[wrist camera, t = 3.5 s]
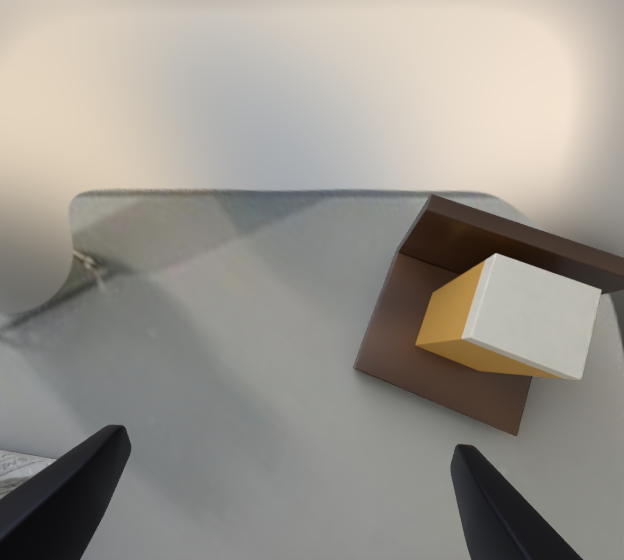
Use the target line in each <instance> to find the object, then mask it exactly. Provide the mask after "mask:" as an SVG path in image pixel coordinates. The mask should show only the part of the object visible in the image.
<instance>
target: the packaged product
mask: <svg viewBox="0 0 624 560" xmlns="http://www.w3.org/2000/svg"><path fill="white" fill-rule="evenodd" d="M55 461H56V459H50V458H44V457H38V456H32V455H27V454H21V453H16V452H10V451H5V450H0V499H1V498H2V497H4V496H5V495H7V494H8V493H9V492H11V491H12V490H14V489H15V488H17V487H18V486H20V485H21V484H23V483H24V482H25V481H27V480H28V479H30V478H31V477H33V476H34V475H36V474H37V473H39V472H40V471H41V470H43V469H44V468H46V467H47V466H49V465H50V464H52V463H53V462H55Z"/></svg>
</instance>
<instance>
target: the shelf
mask: <svg viewBox="0 0 624 560" xmlns="http://www.w3.org/2000/svg"><path fill="white" fill-rule="evenodd" d="M495 253H497V254H500V255H503V256H506V257H509V258H511V259H514V260H517V261H520V262H523V263H526V264H529V265H532V266H534V267H537V268H540V269H543V270H546V271H549V272H552V273H555V274H557V275H560V276H563V277H566V278H569V279H572V280H575V281H578V282H581V283H583V284H586V285H589V286H592V287H595V288H598V289H601V290H602V291H601V295H602V294H607V293H611V292H615V291H619V290H624V258H623V257H620V256H617V255H614V254H611V253H608V252H605V251H602V250H598V249H596V248H593V247H590V246H586V245H584V244H580V243H578V242H574V241H571V240H569V239H565V238H563V237H560V236H556V235H553V234H550V233H547V232H544V231H541V230H538V229H535V228H532V227H529V226H526V225H523V224H520V223H517V222H514V221H511V220H508V219H505V218H502V217H499V216H496V215H493V214H490V213H487V212H484V211H481V210H478V209H475V208H472V207H469V206H466V205H463V204H460V203H457V202H454V201H451V200H448V199H445V198H442V197H439V196H436V195H433V194H431V195H430V197H429V198H428V200H427V202H426V203H425V205H424V206H423V208H422V210H421V211H420V213H419V214H418V216H417V218H416V219H415V221H414V222H413V224H412V226H411V227H410V229H409V230H408V232H407V234H406V235H405V237H404V238H403V240H402V242H401V243H400V245H399V246H398V248H397V250H396V253H395V255H394V258H393V261H392V263H391V266H390V269H389V271H388V274H387V277H386V280H385V282H384V285H383V288H382V290H381V293H380V296H379V298H378V301H377V304H376V307H375V309H374V312H373V315H372V317H371V320H370V323H369V325H368V328H367V331H366V333H365V336H364V339H363V342H362V344H361V347H360V350H359V352H358V355H357V358H356V360H355V363H354V366H353V368H355V369H357V370H360V371H362V372H364V373H367V374H369V375H372V376H374V377H376V378H379V379H381V380H383V381H386V382H388V383H391V384H393V385H395V386H398V387H400V388H402V389H405V390H407V391H410V392H412V393H414V394H417V395H419V396H421V397H424V398H426V399H429V400H431V401H433V402H436V403H438V404H440V405H443V406H445V407H448V408H450V409H452V410H455V411H457V412H460V413H462V414H464V415H467V416H469V417H471V418H474V419H476V420H479V421H481V422H483V423H486V424H488V425H490V426H493V427H495V428H498V429H500V430H502V431H505V432H507V433H509V434H512V435H514V436H517V433H518V430H519V426H520V422H521V418H522V414H523V410H524V406H525V402H526V398H527V394H528V390H529V387H530V383H531V379H532V376H527V375H516V374H506V373H495V372H484V371H478V370H475V369H473V368H470V367H468V366H465V365H463V364H460V363H458V362H455V361H453V360H450V359H448V358H445V357H443V356H440V355H438V354H435V353H433V352H430V351H428V350H425V349H423V348H420V347H418V346H416V345H415V344H416V341H417V338H418V335H419V332H420V329H421V326H422V323H423V320H424V317H425V314H426V311H427V308H428V305H429V302H430V299H431V296H432V293H433V292H435V291H436V290H438V289H440V288H441V287H443V286H444V285H446V284H448V283H449V282H451V281H452V280H454V279H456V278H457V277H459V276H460V275H462V274H464V273H465V272H467V271H468V270H470V269H472V268H473V267H475V266H476V265H478V264H480V263H481V262H483V261H484V260H486V259H487V258H489V257H491V256H492V255H494V254H495Z"/></svg>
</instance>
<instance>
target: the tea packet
mask: <svg viewBox="0 0 624 560" xmlns="http://www.w3.org/2000/svg"><path fill="white" fill-rule="evenodd" d="M601 291H602V290H601V289H598V288H595V287H592V286H589V285H586V284H583V283H581V282H578V281H575V280H572V279H569V278H566V277H563V276H560V275H557V274H555V273H552V272H549V271H546V270H543V269H540V268H537V267H534V266H532V265H529V264H526V263H523V262H520V261H517V260H514V259H511V258H509V257H506V256H503V255H500V254H497V253H495V254H494V255H492V256H491V257H489V258H487V259H486V260H484V261H483V262H481V263H480V264H478V265H476V266H475V267H473V268H472V269H470V270H468V271H467V272H465V273H464V274H462V275H460V276H459V277H457V278H456V279H454V280H452V281H451V282H449V283H448V284H446V285H444V286H443V287H441V288H440V289H438V290H436V291H435V292H433V293H432V296H431V299H430V302H429V305H428V308H427V311H426V314H425V317H424V320H423V323H422V326H421V329H420V332H419V335H418V338H417V341H416V344H415V345H416V346H418V347H420V348H423V349H425V350H428V351H430V352H433V353H435V354H438V355H440V356H443V357H445V358H448V359H450V360H453V361H455V362H458V363H460V364H463V365H465V366H468V367H470V368H473V369H475V370H478V371H484V372H495V373H506V374H516V375H527V376H538V377H549V378H560V379H570V380H582V376H583V371H584V367H585V363H586V358H587V354H588V349H589V345H590V340H591V336H592V331H593V327H594V322H595V318H596V314H597V309H598V305H599V300H600V296H601Z"/></svg>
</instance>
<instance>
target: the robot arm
mask: <svg viewBox="0 0 624 560" xmlns="http://www.w3.org/2000/svg"><path fill="white" fill-rule="evenodd" d="M130 453H131V443H130V440H129V437H128V434H127V431H126V428H125V427H124V426H123V425H108V426H106V427H104V428H103V429H101V430H100V431H98V432H97V433H95V434H94V435H92V436H91V437H89V438H88V439H87V440H85V441H84V442H82V443H81V444H79V445H78V446H76V447H75V448H73V449H72V450H71V451H69V452H68V453H66V454H65V455H63V456H62V457H60V458H59V459H57V460H56V461H55V462H53V463H52V464H50V465H49V466H47V467H46V468H44V469H43V470H41V471H40V472H39V473H37V474H36V475H34V476H33V477H31V478H30V479H28V480H27V481H25V482H24V483H23V484H21V485H20V486H18V487H17V488H15V489H14V490H12V491H11V492H9V493H8V494H7V495H5V496H4V497H2V498H1V499H0V560H80V559H81V557H82V555H83V553H84V552H85V550H86V548H87V546H88V544H89V542H90V540H91V538H92V537H93V535H94V533H95V531H96V529H97V527H98V525H99V523H100V521H101V519H102V517H103V515H104V513H105V511H106V509H107V507H108V505H109V502H110V500H111V498H112V495H113V493H114V491H115V488H116V486H117V484H118V481H119V479H120V477H121V474H122V472H123V470H124V467H125V465H126V463H127V460H128V458H129V456H130ZM451 476H452V481H453V486H454V490H455V495H456V499H457V504H458V509H459V513H460V518H461V522H462V527H463V531H464V535H465V540H466V543H467V547H468V550H469V554H470V557H471V560H583V559H582V558H581V557H580V556H579V555H578V554H577V553H576V552H575V551H574V550H573V549H572V548H571V547H570V546H569V545H568V544H567V543H566V541H565V540H564V539H563V538H562V537H561V536H560V535H559V534H558V533H557V532H556V531H555V530H554V529H553V528H552V527H551V526H550V525H549V524H548V523H547V522H546V521H545V519H544V518H543V517H542V516H541V515H540V514H539V513H538V512H537V511H536V510H535V509H534V508H533V507H532V506H531V505H530V504H529V503H528V502H527V501H526V500H525V499H524V498H523V496H522V495H521V494H520V493H519V492H518V491H517V490H516V489H515V488H514V487H513V486H512V485H511V484H510V483H509V482H508V481H507V480H506V479H505V478H504V477H503V476H502V475H501V473H500V472H499V471H498V470H497V469H496V468H495V467H494V466H493V465H492V464H491V463H490V462H489V461H488V460H487V459H486V458H485V457H484V456H483V455H482V454H481V453H480V451H479V450H478V449H477V448H476V447H474V446H472V445H463V444H458V445H457V446H456V447H455V450H454V454H453V458H452V462H451Z"/></svg>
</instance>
